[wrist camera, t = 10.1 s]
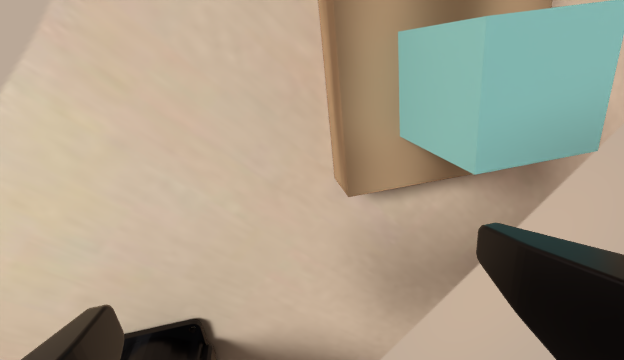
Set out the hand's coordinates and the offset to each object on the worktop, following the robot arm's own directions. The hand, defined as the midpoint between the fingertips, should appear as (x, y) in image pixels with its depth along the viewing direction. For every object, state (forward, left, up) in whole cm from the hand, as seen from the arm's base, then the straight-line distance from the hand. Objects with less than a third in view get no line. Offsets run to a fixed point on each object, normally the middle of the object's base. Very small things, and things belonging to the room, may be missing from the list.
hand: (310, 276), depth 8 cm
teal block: (+9, +3, -9) cm, 13 cm away
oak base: (+9, +3, -12) cm, 15 cm away
